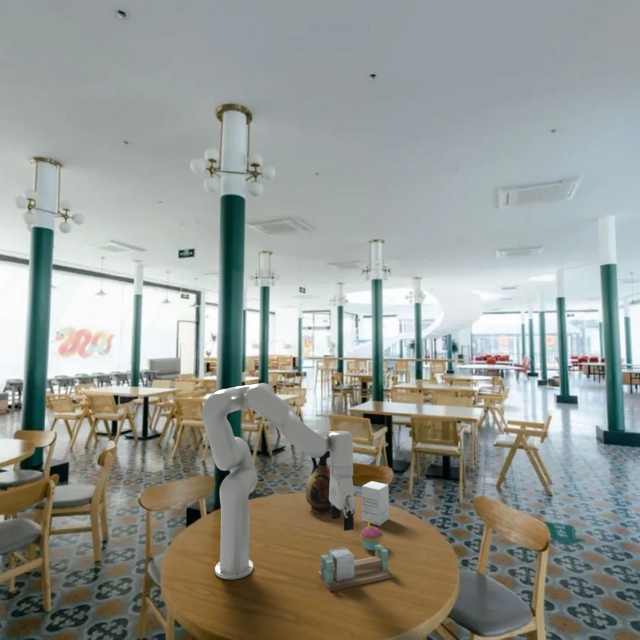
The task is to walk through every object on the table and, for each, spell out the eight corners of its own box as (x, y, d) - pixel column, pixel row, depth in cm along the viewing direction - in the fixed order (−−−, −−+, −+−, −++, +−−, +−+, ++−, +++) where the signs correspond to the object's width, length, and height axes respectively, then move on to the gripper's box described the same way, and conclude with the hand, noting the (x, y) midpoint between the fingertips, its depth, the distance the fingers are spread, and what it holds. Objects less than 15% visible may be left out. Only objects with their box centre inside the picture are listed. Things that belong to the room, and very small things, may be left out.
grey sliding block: (328, 570, 135) (328, 549, 135) (345, 567, 137) (345, 546, 137) (336, 581, 128) (336, 559, 129) (354, 577, 130) (354, 555, 131)
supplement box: (371, 514, 186) (371, 480, 188) (389, 519, 181) (389, 484, 182) (361, 521, 179) (361, 485, 180) (379, 526, 174) (379, 489, 175)
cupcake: (355, 547, 154) (355, 514, 155) (369, 540, 161) (369, 508, 162) (374, 555, 149) (374, 520, 150) (387, 547, 155) (387, 514, 156)
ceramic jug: (343, 506, 196) (343, 442, 198) (330, 518, 181) (331, 449, 184) (310, 501, 202) (311, 439, 205) (296, 512, 188) (297, 445, 191)
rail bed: (318, 575, 135) (318, 552, 135) (376, 563, 143) (376, 541, 144) (330, 591, 126) (330, 566, 126) (392, 577, 134) (392, 554, 134)
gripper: (321, 464, 142) (321, 516, 140) (342, 478, 126) (342, 536, 124) (341, 462, 145) (341, 512, 143) (364, 475, 129) (364, 532, 127)
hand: (342, 524), depth 134 cm, fingers open, 9 cm apart
